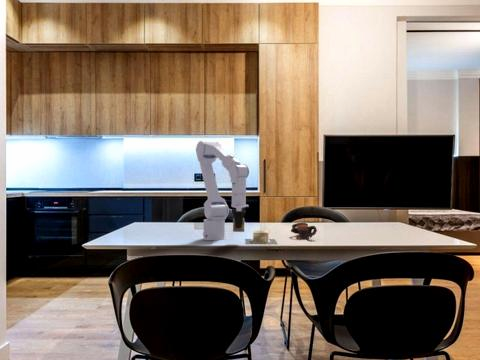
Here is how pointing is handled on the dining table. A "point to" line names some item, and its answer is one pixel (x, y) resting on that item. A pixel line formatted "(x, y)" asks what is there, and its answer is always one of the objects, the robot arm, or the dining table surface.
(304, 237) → the pottery mug
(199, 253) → the dining table surface
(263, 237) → the oak block
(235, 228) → the walnut block
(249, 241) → the mat
